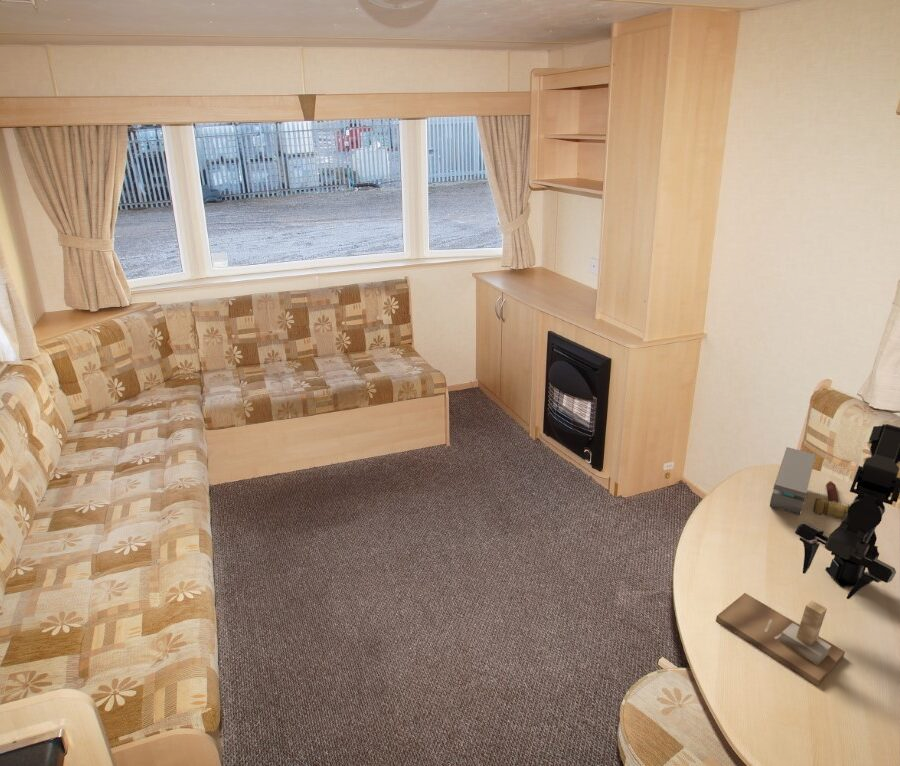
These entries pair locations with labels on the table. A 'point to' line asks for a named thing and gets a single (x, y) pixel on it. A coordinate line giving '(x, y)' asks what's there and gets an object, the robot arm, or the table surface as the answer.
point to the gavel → (830, 503)
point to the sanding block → (808, 634)
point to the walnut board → (774, 636)
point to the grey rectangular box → (792, 481)
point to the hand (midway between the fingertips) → (825, 585)
